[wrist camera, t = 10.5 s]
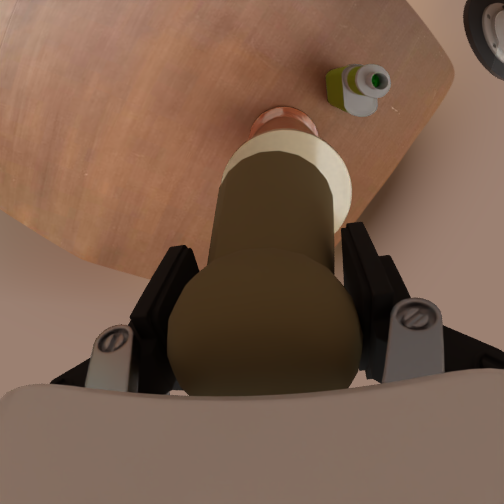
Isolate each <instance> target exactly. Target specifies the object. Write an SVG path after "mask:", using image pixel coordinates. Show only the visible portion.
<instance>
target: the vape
mask: <svg viewBox="0 0 504 504" xmlns="http://www.w3.org/2000/svg"><path fill="white" fill-rule="evenodd" d="M390 86H391V80H390V76H389V74H388V73H387V71H386V70H385V69H384V68H383V67H381V66H379V65H376V64H367V65H361V64H349V65H347V66H345V67H341V68H337V69H333V70H331V71H329V72H328V73H327V74H326V88H327V98H328V102H329V103H330V104H331V105H332V106H334V107H337V108H339V109H341V110H343V111H345V112H348V113H350V114H352V115H354V116H358V117H365V116H369V115H371V114H373V113H374V112H375V111H376V110H377V107H378V105H377V98H380V97H382V96H384V95H386V94H387V92H388V91H389V89H390Z"/></svg>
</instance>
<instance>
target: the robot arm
mask: <svg viewBox="0 0 504 504" xmlns="http://www.w3.org/2000/svg"><path fill="white" fill-rule="evenodd" d="M482 28H483V33H484V36H485V39H486V41H487V44H488V46H489V47H490V49H491V51H492V52H493V53H494V55H495V56H496V57H497V58H498V59H499V60H500V61H501V62H502V63H504V4H502V3H494V4H490V5H489V6H487V7H486V8H485V10H484V12H483V15H482ZM341 237H342V253H343V272H344V287H345V288H346V290H347V291H348V293H349V294H350V295H351V297H352V298H353V301H354V304H355V307H356V311H357V314H358V317H359V321H360V324H361V328H362V332H363V345H362V353H361V359H360V364H359V370H360V371H362V370H365V372H366V377H367V379H374V380H376V381H378V382H379V383H381V384H377V385H370V386H363V387H356V388H348V389H340V390H331V391H321V392H310V393H298V394H283V395H263V396H178V395H170V392H169V391H171V390H183V389H182V388H181V387H180V385H179V383H178V381H177V379H176V377H175V375H174V373H173V370H172V368H171V365H170V362H169V359H168V356H167V334H168V320H169V317H170V315H171V313H172V310H173V308H174V306H175V304H176V302H177V300H178V298H179V296H180V295H181V293H182V291H183V289H184V287H185V285H186V284H187V283H188V282H189V281H190V280H191V279H192V278H193V277H194V276H195V275H196V274H197V273H199V269H198V266H197V263H196V260H195V256H194V253H193V251H192V249H191V248H187V246H186V245H181V246H174V247H170V248H169V250H168V251H167V253H166V255H165V256H164V258H163V260H162V261H161V263H160V265H159V266H158V268H157V270H156V271H155V273H154V275H153V276H152V278H151V280H150V282H149V283H148V285H147V287H146V289H145V290H144V292H143V294H142V296H141V297H140V299H139V301H138V303H137V304H136V306H135V308H134V310H133V312H132V313H131V315H130V319H131V321H130V323H129V324H128V326H127V325H122V324H121V325H115V326H112V327H109V328H108V329H106V330H104V331H103V332H102V333H101V334H100V335H99V336H98V338H96V340H95V343H94V345H93V350H92V354H91V358H89V359H87V360H86V361H84V362H82V363H81V364H79V365H77V366H76V367H74V368H72V369H70V370H69V371H67V372H65V373H64V374H62V375H61V376H59V377H57V378H55V379H54V380H52V381H51V383H50V384H33V385H27V386H22V387H18V388H16V389H14V390H11V391H9V392H7V393H6V394H5V395H4V396H3V397H2V398H1V400H0V504H504V352H502V351H501V350H499V349H497V348H495V347H493V346H491V345H488V344H486V343H483V342H481V341H479V340H476V339H474V338H472V337H469V336H467V335H464V334H462V333H460V332H458V331H455V330H453V329H451V328H448V327H446V326H444V325H442V315H441V312H440V310H439V308H438V307H437V306H436V305H435V304H433V303H432V302H430V301H428V300H426V299H422V298H411V297H410V295H409V293H408V291H407V288H406V286H405V284H404V282H403V280H402V278H401V276H400V274H399V272H398V270H397V268H396V266H395V264H394V262H393V260H392V258H391V256H390V255H385V256H378V254H377V252H376V249H375V247H374V245H373V243H372V241H371V239H370V237H369V234H368V232H367V230H366V228H365V226H364V224H363V222H355V223H347V224H346V228H341Z"/></svg>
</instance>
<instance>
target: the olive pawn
mask: <svg viewBox="0 0 504 504" xmlns="http://www.w3.org/2000/svg"><path fill="white" fill-rule="evenodd" d="M362 345H363V332H362V328H361V324H360V321H359V317H358V314H357V311H356V307H355V304H354V301H353V298H352V297H351V295H350V294H349V293H348V291H347V290H346V288H345V287H344V286H343V285H342V284H341V282H340V281H339V280H338V279H337V278H336V277H335V276H334V210H333V195H332V192H331V189H330V187H329V184H328V181H327V179H326V178H325V177H324V175H323V174H322V173H321V172H320V171H319V169H318V168H317V167H316V166H315V165H314V164H312V163H311V162H309V161H307V160H306V159H304V158H302V157H301V156H299V155H296V154H292V153H288V152H283V151H267V152H259V153H256V154H254V155H252V156H249V157H247V158H244V159H242V160H241V161H240V162H239V163H237V164H236V165H235V166H234V167H233V168H232V169H231V170H230V171H228V173H227V175H226V176H225V178H224V180H223V182H222V184H221V185H220V187H219V193H218V199H217V205H216V211H215V217H214V224H213V230H212V236H211V243H210V249H209V256H208V263H207V266H206V267H205V268H204V269H202V270H201V271H200V272H199V273H197V274H196V275H195V276H194V277H193V278H192V279H191V280H190V281H189V282H188V283H187V284H186V285H185V287H184V289H183V291H182V293H181V295H180V296H179V298H178V300H177V302H176V304H175V306H174V308H173V310H172V313H171V315H170V317H169V320H168V334H167V356H168V359H169V362H170V365H171V368H172V370H173V373H174V375H175V377H176V379H177V381H178V383H179V385H180V387H181V388H182V389H183V390H184V391H185V392H186V393H187V394H188V395H189V396H263V395H283V394H298V393H310V392H321V391H331V390H340V389H348V388H349V386H350V385H351V383H352V381H353V379H354V378H355V376H356V374H357V372H358V369H359V364H360V359H361V353H362Z"/></svg>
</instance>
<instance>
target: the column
mask: <svg viewBox="0 0 504 504" xmlns="http://www.w3.org/2000/svg"><path fill="white" fill-rule="evenodd" d="M267 151H283V152H288V153H292V154H296V155H299V156H301V157H302V158H304V159H306V160H307V161H309V162H311V163H312V164H314V165H315V166H316V167H317V168H318V169H319V171H320V172H321V173H322V174H323V175H324V177H325V178H326V179H327V181H328V184H329V187H330V189H331V192H332V195H333V210H334V233H335V232H336V231H337V230H338V229H339V228H340V226H341V225H342V224H343V222H344V220H345V218H346V216H347V214H348V211H349V208H350V204H351V198H352V185H351V179H350V175H349V172H348V170H347V167H346V165H345V163H344V162H343V160H342V159H341V157H340V156H339V154H338V153H337V152H336V151H335V150H334V148H333V147H332V146H331V145H329V144H328V143H327V142H326V141H324V140H323V139H321V138H320V137H319V135H318V131H317V128H316V126H315V124H314V123H313V121H312V120H311V119H310V118H309V117H308V116H307V115H306V114H305V113H303V112H302V111H300V110H298V109H296V108H292V107H286V106H281V107H275V108H272V109H269V110H267V111H265V112H264V113H262V114H261V115H260V116H259V117H258V118H257V119H256V121H255V122H254V124H253V125H252V128H251V130H250V135H249V140H247V141H246V142H245V143H243V144H242V145H241V146H240V147H239V148H238V149H237V150H236V152H235V153H234V154H233V155H232V157H231V158H230V160H229V162H228V164H227V165H226V168H225V170H224V173H223V176H222V181H221V184H222V182H223V180H224V178H225V176H226V175H227V173H228V171H230V170H231V169H232V168H233V167H234V166H235V165H236V164H237V163H239V162H240V161H241V160H242V159H244V158H247V157H249V156H252V155H254V154H256V153H259V152H267Z"/></svg>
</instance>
